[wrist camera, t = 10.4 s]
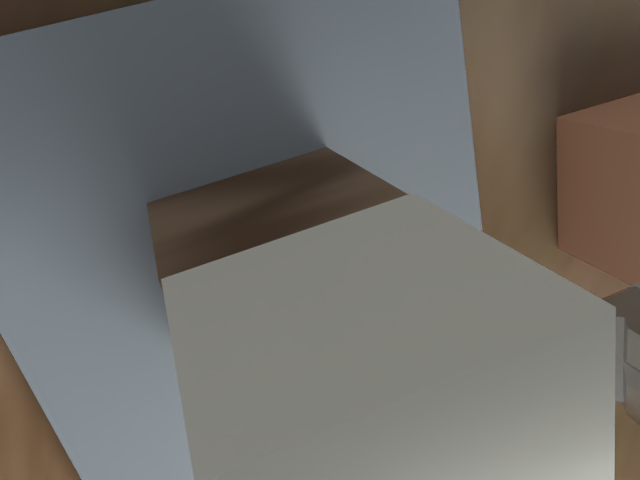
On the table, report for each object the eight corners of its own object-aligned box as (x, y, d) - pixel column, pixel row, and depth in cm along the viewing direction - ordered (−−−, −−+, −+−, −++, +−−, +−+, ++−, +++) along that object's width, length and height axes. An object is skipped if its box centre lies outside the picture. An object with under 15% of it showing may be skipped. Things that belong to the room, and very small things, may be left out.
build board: (428, -64, 15) (451, -70, 14) (477, 344, 21) (495, 361, 20) (-124, 66, 12) (-146, 70, 11) (109, 498, 18) (107, 527, 17)
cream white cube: (413, 192, 11) (615, 307, 6) (444, 390, 13) (613, 580, 9) (161, 279, 10) (195, 487, 5) (238, 479, 12) (310, 747, 7)
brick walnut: (326, 147, 15) (411, 196, 11) (360, 300, 17) (442, 393, 13) (146, 203, 14) (159, 282, 10) (204, 358, 16) (237, 482, 12)
